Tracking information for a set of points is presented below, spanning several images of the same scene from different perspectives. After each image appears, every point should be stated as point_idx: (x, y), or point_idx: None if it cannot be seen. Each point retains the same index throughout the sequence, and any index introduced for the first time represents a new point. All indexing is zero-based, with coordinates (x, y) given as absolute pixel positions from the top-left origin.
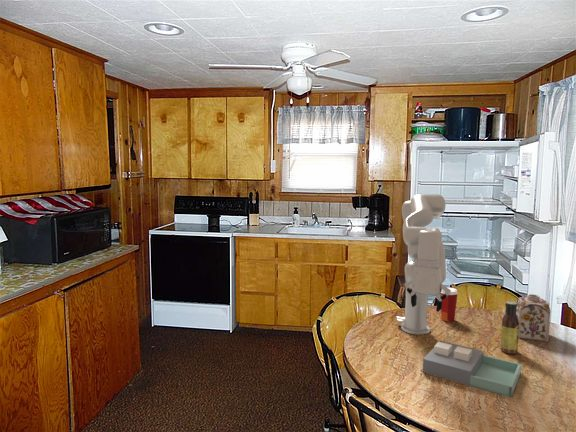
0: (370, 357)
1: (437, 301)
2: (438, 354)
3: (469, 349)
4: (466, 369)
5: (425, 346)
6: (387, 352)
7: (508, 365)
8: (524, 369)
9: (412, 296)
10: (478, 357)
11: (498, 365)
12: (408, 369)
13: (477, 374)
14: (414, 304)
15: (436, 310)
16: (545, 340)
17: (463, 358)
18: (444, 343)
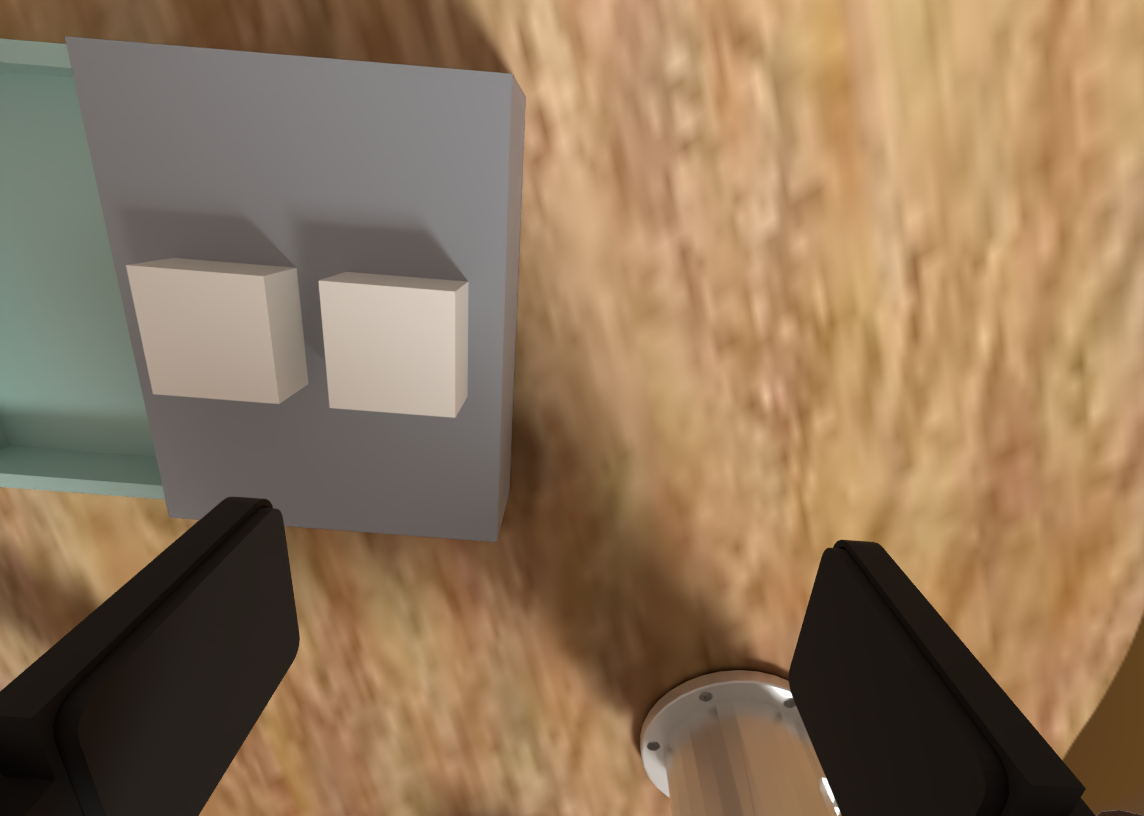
0: (977, 131)
1: (34, 710)
2: (423, 262)
3: (171, 388)
4: (110, 62)
5: (616, 538)
6: (852, 306)
7: (41, 462)
8: (19, 514)
9: (1069, 812)
10: (145, 380)
11: (116, 459)
12: (637, 81)
13: None
14: (834, 612)
15: (268, 512)
16: None
17: (203, 262)
18: (396, 406)
